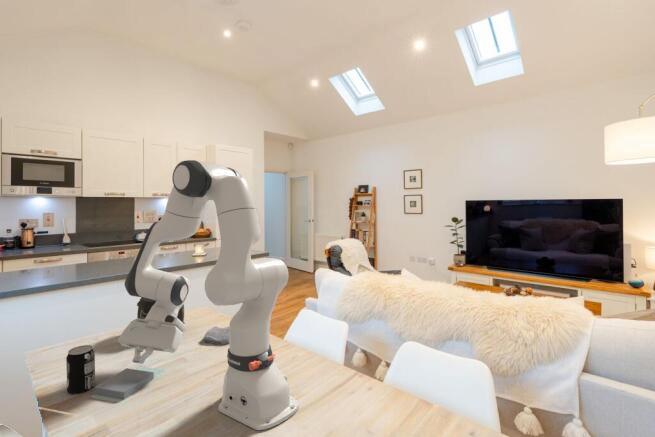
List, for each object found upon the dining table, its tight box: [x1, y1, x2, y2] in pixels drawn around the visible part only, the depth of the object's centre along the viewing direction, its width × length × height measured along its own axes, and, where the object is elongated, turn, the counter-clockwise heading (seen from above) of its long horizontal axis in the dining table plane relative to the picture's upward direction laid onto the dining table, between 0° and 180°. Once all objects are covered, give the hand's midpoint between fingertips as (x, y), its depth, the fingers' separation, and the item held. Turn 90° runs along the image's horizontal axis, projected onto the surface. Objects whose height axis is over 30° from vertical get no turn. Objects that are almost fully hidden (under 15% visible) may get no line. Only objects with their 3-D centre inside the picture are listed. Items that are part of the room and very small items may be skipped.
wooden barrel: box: [136, 297, 186, 325], centre depth 137 cm, size 18×18×16 cm
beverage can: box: [65, 344, 96, 395], centre depth 96 cm, size 7×7×12 cm
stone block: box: [203, 326, 229, 345], centre depth 132 cm, size 12×5×10 cm
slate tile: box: [94, 367, 154, 400], centre depth 97 cm, size 2×10×11 cm
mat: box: [90, 366, 167, 403], centre depth 99 cm, size 10×18×1 cm, turn 167°
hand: (137, 362), depth 101 cm, fingers closed
